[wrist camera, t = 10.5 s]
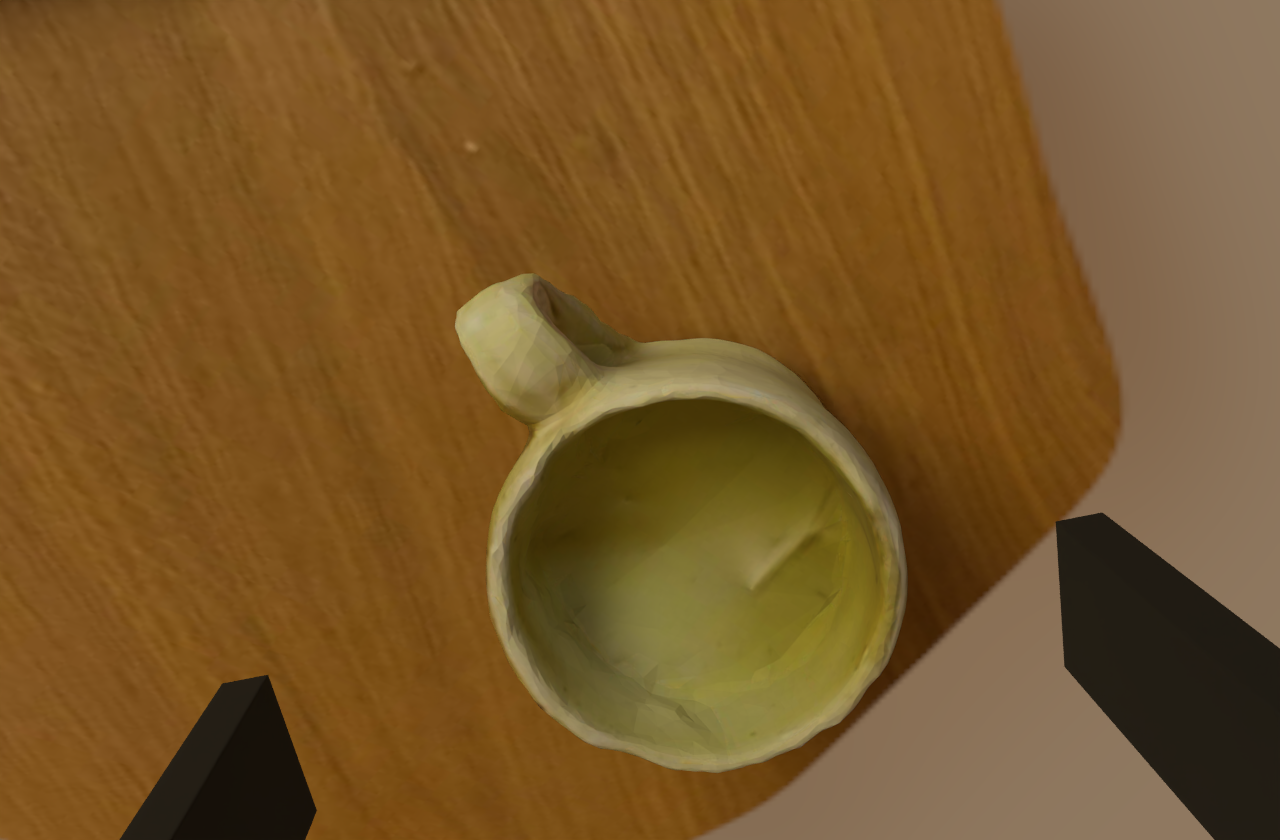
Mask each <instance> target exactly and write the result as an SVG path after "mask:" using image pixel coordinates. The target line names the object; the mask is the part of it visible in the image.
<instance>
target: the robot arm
mask: <svg viewBox="0 0 1280 840" xmlns="http://www.w3.org/2000/svg"><path fill="white" fill-rule="evenodd" d="M1056 533H1057V548H1058V566H1059V581H1060V599H1061V613H1062V614H1061V615H1062V631H1063V647H1064V648H1063V649H1064V665H1065V668H1066V669H1067V670H1068V671H1069V672H1070V673H1071V675H1072V676H1073V677H1074V678H1075V679H1076V680H1077V682H1078V683H1079V684H1080V685H1081V686H1082V687H1083V688H1084V690H1085V691H1086V692H1087V693H1088V694H1089V695H1090V696H1091V698H1092V699H1093V700H1094V701H1095V702H1096V703H1097V705H1098V706H1099V707H1100V708H1101V709H1102V710H1103V712H1104V713H1105V714H1106V715H1107V716H1108V717H1109V718H1110V720H1111V721H1112V722H1113V723H1114V724H1115V725H1116V727H1117V728H1118V729H1119V730H1120V731H1121V732H1122V733H1123V735H1124V736H1125V737H1126V738H1127V739H1128V740H1129V741H1130V743H1132V745H1133V746H1134V747H1135V748H1136V750H1137V751H1138V752H1139V753H1140V754H1141V755H1142V757H1143V758H1144V759H1145V760H1146V761H1147V762H1148V763H1149V764H1150V766H1151V767H1152V768H1153V769H1154V770H1155V771H1156V773H1157V774H1158V775H1159V776H1160V777H1161V778H1162V780H1163V781H1164V782H1165V783H1166V784H1167V785H1168V787H1169V788H1170V789H1171V790H1172V791H1173V792H1174V793H1175V795H1176V796H1177V797H1178V798H1179V799H1180V800H1181V802H1182V803H1183V804H1184V805H1185V806H1186V807H1187V808H1188V810H1189V811H1190V812H1191V813H1192V814H1193V815H1194V816H1195V818H1196V819H1197V820H1198V821H1199V822H1200V823H1201V825H1202V826H1203V827H1204V828H1205V829H1206V830H1207V832H1208V833H1209V834H1210V835H1211V836H1212V837H1213V838H1214V840H1280V648H1278V647H1277V646H1276V645H1274V644H1273V643H1272V642H1270V641H1269V640H1268V639H1267V638H1265V637H1264V636H1263V635H1261V634H1260V633H1259V632H1257V631H1256V630H1255V629H1253V628H1252V627H1251V626H1249V625H1248V624H1247V623H1246V622H1244V621H1243V620H1242V619H1240V618H1239V617H1238V616H1237V615H1235V614H1234V613H1233V612H1231V611H1230V610H1229V609H1227V608H1226V607H1225V606H1223V605H1222V604H1221V603H1219V602H1218V601H1217V600H1216V599H1214V598H1213V597H1212V596H1210V595H1209V594H1208V593H1207V592H1205V591H1204V590H1203V589H1201V588H1200V587H1199V586H1197V585H1196V584H1195V583H1194V582H1192V581H1191V580H1190V579H1188V578H1187V577H1186V576H1184V575H1183V574H1182V573H1180V572H1179V571H1178V570H1176V569H1175V568H1174V567H1173V566H1171V565H1170V564H1169V563H1167V562H1166V561H1165V560H1164V559H1162V558H1161V557H1160V556H1158V555H1157V554H1156V553H1154V552H1153V551H1152V550H1150V549H1149V548H1148V547H1147V546H1145V545H1144V544H1143V543H1141V542H1140V541H1138V540H1137V539H1136V538H1135V537H1133V536H1132V535H1131V534H1130V533H1128V532H1127V531H1126V530H1124V529H1123V528H1122V527H1120V526H1119V525H1118V524H1117V523H1115V522H1114V521H1113V520H1111V519H1110V518H1109V517H1107V516H1106V515H1105V514H1103V513H1098V514H1093V515H1088V516H1082V517H1077V518H1072V519H1067V520H1062V521H1056ZM316 811H317V810H316V807H315V804H314V802H313V799H312V796H311V793H310V791H309V788H308V785H307V782H306V779H305V777H304V774H303V771H302V768H301V766H300V763H299V760H298V757H297V754H296V752H295V749H294V746H293V743H292V741H291V738H290V735H289V732H288V729H287V727H286V724H285V721H284V718H283V715H282V713H281V710H280V707H279V704H278V702H277V699H276V696H275V693H274V690H273V688H272V685H271V682H270V679H269V677H268V675H264V676H259V677H254V678H249V679H244V680H239V681H234V682H228V683H223V684H222V685H221V687H220V688H219V690H218V691H217V693H216V694H215V696H214V697H213V699H212V700H211V702H210V703H209V705H208V706H207V708H206V709H205V711H204V712H203V714H202V715H201V717H200V718H199V720H198V721H197V723H196V724H195V726H194V727H193V729H192V731H191V732H190V734H189V735H188V737H187V738H186V740H185V741H184V743H183V744H182V746H181V747H180V749H179V750H178V752H177V753H176V755H175V756H174V758H173V759H172V761H171V762H170V764H169V765H168V767H167V768H166V770H165V771H164V773H163V775H162V776H161V778H160V779H159V781H158V782H157V784H156V785H155V787H154V788H153V790H152V791H151V793H150V794H149V796H148V797H147V799H146V800H145V802H144V803H143V805H142V806H141V808H140V809H139V811H138V812H137V814H136V815H135V817H134V818H133V820H132V822H131V823H130V825H129V826H128V828H127V829H126V831H125V832H124V834H123V835H122V837H121V838H120V840H305V839H306V836H307V834H308V831H309V829H310V826H311V824H312V821H313V819H314V816H315V814H316Z"/></svg>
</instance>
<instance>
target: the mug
mask: <svg viewBox="0 0 1280 840" xmlns="http://www.w3.org/2000/svg"><path fill="white" fill-rule="evenodd" d="M455 329H456V332H457V334H458V336H459V339H460V343H461V346H462V348H463V350H464V351H465V353H466V355H467V356H468V358H469V359H470V361H471V362H472V365H473V367H474V369H475V371H476V374H477V375H478V377H479V379H480V381H481V382H482V384H483V386H484V387H485V389H486V390H487V391H488V393H489V394H490V395H491V396H492V397H493V398H494V400H495V401H496V403H497V404H498V406H499V407H500V409H501V410H502V411H503V412H505V413H507V414H508V415H510V416H512V417H513V418H515V419H517V420H518V421H520V422H522V423H524V424H526V425H527V426H528V429H529V438H528V440H527V443H526V445H525V448H524V450H523V452H522V453H521V455H520V457H519V458H518V460H517V462H516V463H515V465H514V467H513V468H512V470H511V472H510V473H509V475H508V477H507V479H506V481H505V483H504V485H503V487H502V489H501V491H500V493H499V495H498V498H497V500H496V503H495V506H494V508H493V511H492V516H491V521H490V525H489V532H488V541H487V550H486V588H487V597H488V605H489V613H490V619H491V621H492V624H493V626H494V629H495V631H496V634H497V636H498V639H499V641H500V644H501V646H502V649H503V651H504V653H505V655H506V658H507V660H508V662H509V664H510V666H511V668H512V669H513V671H514V672H515V674H516V676H517V677H518V679H519V680H520V682H521V683H522V684H523V685H524V686H525V687H526V689H527V690H528V692H529V693H530V695H531V696H532V698H533V699H534V701H535V702H536V703H537V704H538V706H539V707H540V708H541V709H542V710H544V711H545V712H546V713H547V714H549V715H550V716H551V717H552V718H554V719H555V720H556V721H557V722H559V723H560V724H561V725H563V726H564V727H565V728H567V729H568V730H569V731H571V732H572V733H573V734H575V735H576V736H577V737H579V738H580V739H581V740H583V741H585V742H586V743H589V744H591V745H593V746H596V747H598V748H600V749H611V750H617V751H622V752H625V753H629V754H632V755H635V756H638V757H641V758H643V759H646V760H648V761H651V762H653V763H656V764H658V765H661V766H663V767H666V768H669V769H673V770H688V771H704V772H713V773H720V772H724V771H729V770H734V769H738V768H742V767H744V766H747V765H751V764H756V763H761V762H766V761H768V760H769V759H771V758H773V757H774V756H777V755H780V754H782V753H785V752H787V751H790V750H793V749H796V748H799V747H801V746H803V745H804V744H805V743H806V742H807V741H809V740H810V739H811V738H813V737H814V736H815V735H817V734H818V733H819V732H821V731H822V730H825V729H827V728H830V727H832V726H834V725H836V724H838V723H840V722H841V721H842V720H843V719H844V718H845V717H846V716H847V715H848V714H849V713H850V712H851V711H852V710H853V709H854V708H855V707H856V705H857V704H858V703H859V701H860V699H861V698H862V696H863V695H864V693H865V692H866V690H867V689H868V688H869V686H870V685H871V684H872V683H873V682H874V681H875V680H876V679H877V678H878V677H879V676H880V675H881V673H882V671H883V670H884V668H885V667H886V665H887V664H888V662H889V660H890V657H891V655H892V652H893V650H894V647H895V644H896V641H897V638H898V635H899V631H900V628H901V624H902V620H903V617H904V613H905V609H906V601H907V585H908V572H907V563H906V557H905V550H904V544H903V538H902V532H901V525H900V522H899V519H898V516H897V513H896V509H895V506H894V504H893V501H892V499H891V497H890V494H889V492H888V490H887V488H886V486H885V484H884V482H883V481H882V479H881V477H880V475H879V473H878V471H877V469H876V467H875V465H874V464H873V462H872V460H871V459H870V458H869V456H868V455H867V453H866V452H865V450H864V449H863V447H862V446H861V445H860V444H859V443H858V441H857V440H856V439H855V438H854V436H853V435H852V434H851V433H850V432H849V431H848V429H847V428H846V427H845V426H844V425H843V424H842V423H840V422H839V421H838V420H837V419H836V418H835V417H834V416H833V415H832V414H831V413H830V412H828V411H827V410H826V409H825V408H824V407H823V405H822V404H821V402H820V401H819V399H818V398H817V396H816V395H815V394H814V393H813V392H812V391H811V390H810V389H809V387H808V386H807V385H806V384H805V383H804V382H803V381H802V380H801V379H800V378H799V377H798V376H797V375H796V374H795V373H793V372H792V371H791V370H789V369H788V368H787V367H785V366H784V365H783V364H781V363H780V362H779V361H777V360H776V359H774V358H773V357H771V356H770V355H768V354H766V353H764V352H762V351H760V350H758V349H756V348H753V347H750V346H746V345H743V344H739V343H735V342H730V341H725V340H720V339H711V338H696V339H686V340H671V341H657V342H649V343H641V342H637V341H635V340H633V339H631V338H629V337H628V336H625V335H622V334H619V333H617V332H616V331H615V330H614V329H612V328H611V327H610V326H609V325H607V324H605V323H603V322H601V321H600V320H599V319H598V317H597V316H596V315H595V314H594V312H593V311H592V310H591V309H590V308H589V307H588V306H587V305H586V304H583V303H582V302H581V301H579V300H578V299H577V298H575V297H574V296H572V295H568V294H565V293H563V292H562V291H560V290H558V289H557V288H556V287H554V286H553V285H552V284H551V283H550V282H548V281H546V280H544V279H542V278H541V277H540V276H538V275H536V274H522V275H519V276H517V277H514V278H512V279H509V280H507V281H504V282H500V283H496V284H493V285H491V286H490V287H488V288H486V289H485V290H483V291H481V292H480V293H479V294H477V295H476V296H475V297H474V298H472V299H471V300H470V301H469V302H467V303H466V304H465V305H464V306H463V307H462V308H461V309H459V310H458V311H457V318H456V322H455Z"/></svg>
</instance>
